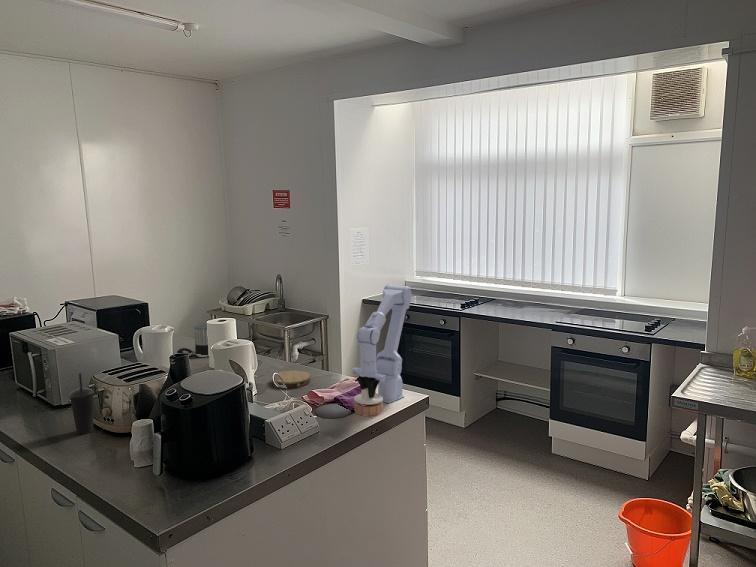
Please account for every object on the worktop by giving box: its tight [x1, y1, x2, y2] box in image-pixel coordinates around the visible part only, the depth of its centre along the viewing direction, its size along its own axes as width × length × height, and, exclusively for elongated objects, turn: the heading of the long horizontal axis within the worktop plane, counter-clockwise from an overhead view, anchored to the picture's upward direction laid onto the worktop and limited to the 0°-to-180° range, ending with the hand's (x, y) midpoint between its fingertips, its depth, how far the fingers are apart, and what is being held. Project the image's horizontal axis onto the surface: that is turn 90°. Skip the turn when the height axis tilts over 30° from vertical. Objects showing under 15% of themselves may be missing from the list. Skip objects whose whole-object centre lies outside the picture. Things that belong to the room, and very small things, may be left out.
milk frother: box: [176, 323, 208, 355], centre depth 281 cm, size 14×16×15 cm
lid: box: [353, 388, 383, 405], centre depth 210 cm, size 10×10×4 cm
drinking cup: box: [68, 373, 95, 435], centre depth 192 cm, size 8×8×20 cm
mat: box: [315, 403, 352, 419], centre depth 210 cm, size 13×13×1 cm
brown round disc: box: [271, 370, 311, 390], centre depth 242 cm, size 16×16×3 cm
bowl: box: [353, 401, 384, 417], centre depth 210 cm, size 10×10×3 cm
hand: (368, 396), depth 210 cm, fingers closed on lid, 2 cm apart
